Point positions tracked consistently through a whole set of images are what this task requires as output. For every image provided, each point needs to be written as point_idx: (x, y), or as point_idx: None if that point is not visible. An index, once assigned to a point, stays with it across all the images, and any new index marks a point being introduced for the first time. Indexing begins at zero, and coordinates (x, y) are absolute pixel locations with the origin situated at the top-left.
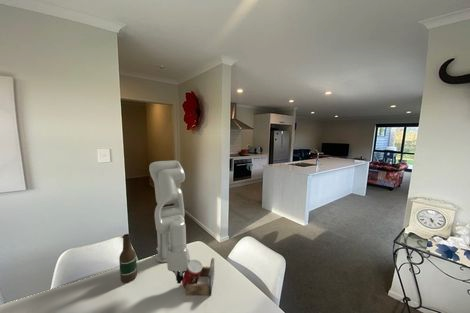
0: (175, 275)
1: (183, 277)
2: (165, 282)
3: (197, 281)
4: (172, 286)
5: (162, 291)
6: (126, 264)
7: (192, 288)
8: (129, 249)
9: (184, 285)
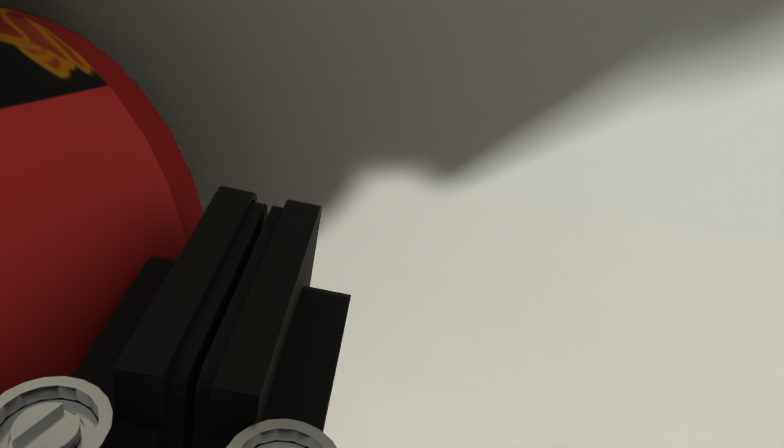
0: (328, 438)
1: (25, 314)
2: (662, 365)
3: None
4: (489, 230)
5: (742, 117)
6: None
7: None
8: None
9: (53, 79)
